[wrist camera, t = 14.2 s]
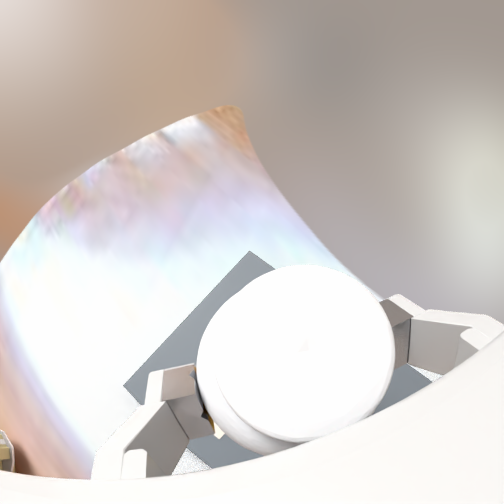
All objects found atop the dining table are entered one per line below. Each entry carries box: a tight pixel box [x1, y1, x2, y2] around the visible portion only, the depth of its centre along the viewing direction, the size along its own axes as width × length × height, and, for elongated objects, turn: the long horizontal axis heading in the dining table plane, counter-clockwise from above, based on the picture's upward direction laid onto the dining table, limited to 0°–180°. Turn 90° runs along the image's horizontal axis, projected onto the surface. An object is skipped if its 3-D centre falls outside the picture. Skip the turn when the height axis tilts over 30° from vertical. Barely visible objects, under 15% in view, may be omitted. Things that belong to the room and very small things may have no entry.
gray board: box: [123, 251, 432, 469], centre depth 18 cm, size 20×14×2 cm
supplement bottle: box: [196, 265, 395, 456], centre depth 10 cm, size 6×6×10 cm
